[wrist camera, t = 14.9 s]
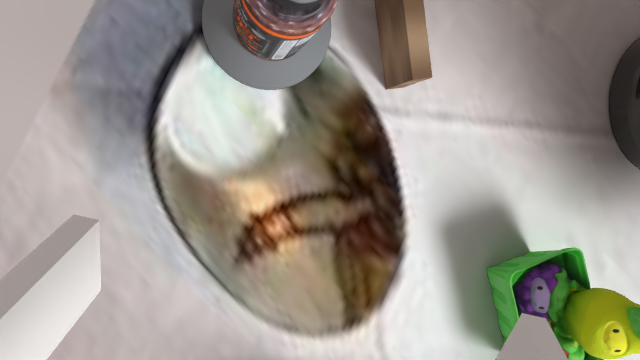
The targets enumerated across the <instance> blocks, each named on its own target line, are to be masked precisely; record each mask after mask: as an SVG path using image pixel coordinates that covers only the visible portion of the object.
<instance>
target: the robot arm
mask: <svg viewBox="0 0 640 360" xmlns="http://www.w3.org/2000/svg"><path fill="white" fill-rule="evenodd" d="M610 116H611V123H612V127H613V131H614V134H615V137H616V139H617V142H618V144H619V146H620V148H621V149H622V151H623V152H624V154H625V155H626V156H627V158H628V159H629V160H630V161H631V162H632V163H633V164H634V165H635V166H637V167H638V168H639V169H640V38H639V39H638V40H637V41H636V42H634V43H633V44H632V45H631V47H630V48H629V49H628V50H627V51H626V53H625V54H624V56H623V57H622V59H621V61H620V63H619V65H618V67H617V69H616V72H615V75H614V78H613V82H612V87H611V93H610ZM100 290H101V273H100V229H99V220H96V219H91V218H87V217H82V216H78V215H73V216H72V217H71V218H69V219H68V220H67V221H66V222H65V223H64V224H63V225H62V226H60V227H59V228H58V229H57V230H56V231H55V232H54V233H53V234H51V235H50V236H49V237H48V238H47V239H46V240H45V241H44V242H42V243H41V244H40V245H39V246H38V247H37V248H36V249H35V250H33V251H32V252H31V253H30V254H29V255H28V256H27V257H26V258H24V259H23V260H22V261H21V262H20V263H19V264H18V265H17V266H15V267H14V268H13V269H12V270H11V271H10V272H9V273H8V274H6V275H5V276H4V277H3V278H2V279H1V280H0V360H46V359H47V358H48V357H49V356H50V354H51V353H52V352H53V351H54V349H55V348H56V347H57V345H58V344H59V343H60V342H61V340H62V339H63V338H64V336H65V335H66V334H67V333H68V331H69V330H70V329H71V328H72V326H73V325H74V324H75V322H76V321H77V320H78V319H79V317H80V316H81V315H82V313H83V312H84V311H85V310H86V308H87V307H88V306H89V304H90V303H91V302H92V301H93V299H94V298H95V297H96V296H97V294H98V293H99V292H100ZM495 360H568V358H567V357H566V355H565V353H564V351H563V349H562V347H561V345H560V344H559V342H558V340H557V338H556V336H555V334H554V332H553V331H552V329H551V327H550V325H549V323H548V321H547V319H546V318H542V317H537V316H533V315H528V314H524V313H522V314H521V316H520V318H519V319H518V321H517V323H516V325H515V326H514V328H513V330H512V331H511V333H510V335H509V337H508V338H507V340H506V342H505V344H504V345H503V347H502V349H501V351H500V352H499V354H498V356H497V358H496V359H495Z"/></svg>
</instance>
